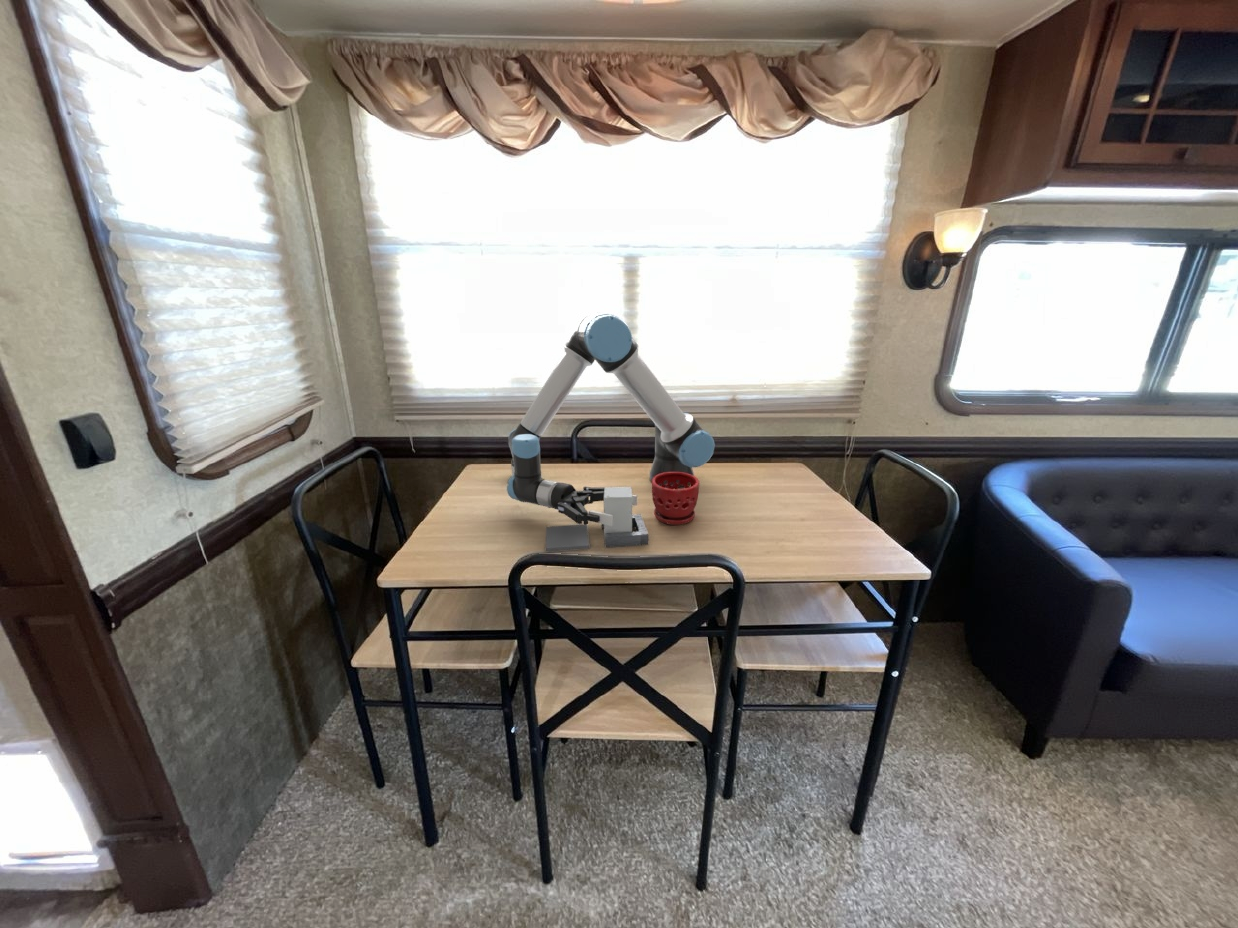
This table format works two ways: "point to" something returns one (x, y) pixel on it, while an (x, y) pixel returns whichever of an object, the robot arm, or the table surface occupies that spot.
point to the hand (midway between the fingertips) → (625, 510)
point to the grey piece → (628, 535)
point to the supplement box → (618, 509)
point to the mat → (567, 538)
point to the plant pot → (675, 497)
